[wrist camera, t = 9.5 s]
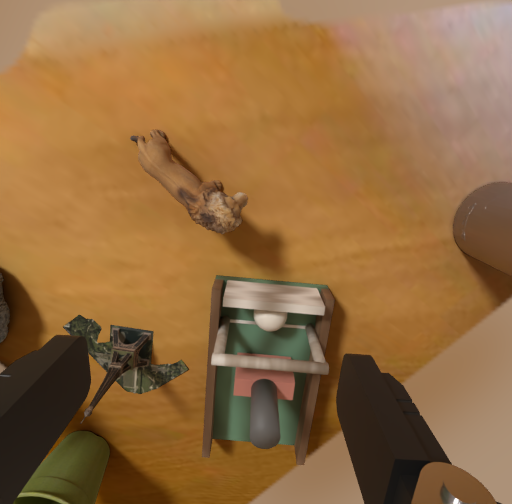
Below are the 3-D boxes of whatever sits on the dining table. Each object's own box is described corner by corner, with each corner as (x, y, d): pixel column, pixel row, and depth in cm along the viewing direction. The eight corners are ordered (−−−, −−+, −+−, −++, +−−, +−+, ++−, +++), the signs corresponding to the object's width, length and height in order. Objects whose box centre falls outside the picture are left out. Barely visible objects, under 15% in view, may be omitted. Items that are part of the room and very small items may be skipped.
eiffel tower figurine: (63, 323, 43) (-20, 397, 30) (119, 284, 41) (56, 343, 28) (137, 398, 46) (91, 492, 34) (191, 365, 45) (165, 451, 32)
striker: (291, 354, 42) (302, 427, 31) (288, 374, 42) (298, 451, 32) (237, 350, 41) (230, 421, 30) (235, 369, 42) (228, 445, 31)
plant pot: (142, 455, 49) (109, 541, 38) (84, 486, 51) (38, 575, 40) (89, 403, 46) (38, 480, 35) (31, 438, 48) (-35, 520, 37)
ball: (290, 298, 36) (288, 334, 36) (286, 298, 40) (283, 331, 40) (255, 295, 36) (252, 331, 36) (254, 296, 40) (251, 328, 40)
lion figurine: (256, 192, 37) (256, 204, 28) (232, 230, 38) (224, 252, 30) (143, 117, 35) (105, 105, 26) (121, 159, 36) (78, 162, 27)
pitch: (327, 285, 40) (348, 325, 31) (300, 438, 48) (310, 508, 38) (216, 275, 40) (203, 313, 31) (206, 431, 47) (194, 499, 38)
